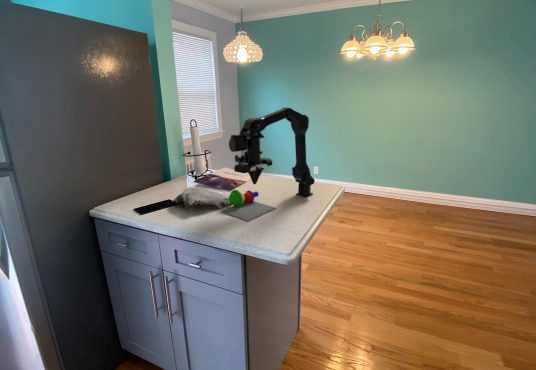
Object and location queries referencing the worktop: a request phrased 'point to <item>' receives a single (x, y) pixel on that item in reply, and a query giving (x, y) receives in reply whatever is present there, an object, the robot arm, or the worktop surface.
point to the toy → (241, 197)
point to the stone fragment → (202, 198)
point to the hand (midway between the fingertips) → (254, 184)
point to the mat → (248, 210)
